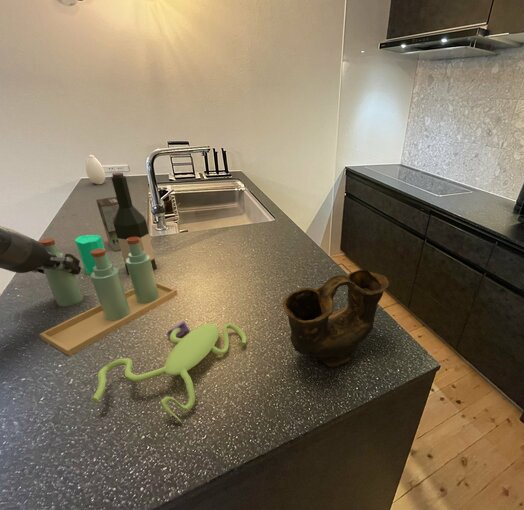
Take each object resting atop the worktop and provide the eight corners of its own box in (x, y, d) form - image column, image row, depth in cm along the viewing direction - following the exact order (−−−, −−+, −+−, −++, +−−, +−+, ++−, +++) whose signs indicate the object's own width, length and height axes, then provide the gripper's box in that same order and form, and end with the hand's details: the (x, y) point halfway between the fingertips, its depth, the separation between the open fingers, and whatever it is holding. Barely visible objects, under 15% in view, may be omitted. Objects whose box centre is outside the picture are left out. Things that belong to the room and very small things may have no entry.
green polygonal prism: (81, 271, 92) (67, 235, 86) (100, 263, 97) (89, 228, 92) (96, 276, 91) (83, 239, 85) (115, 266, 96) (104, 231, 90)
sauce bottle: (107, 185, 169) (97, 151, 161) (89, 186, 165) (79, 151, 157) (108, 181, 175) (99, 149, 167) (91, 182, 171) (81, 149, 163)
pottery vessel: (360, 319, 82) (369, 253, 73) (388, 343, 74) (402, 274, 65) (275, 356, 68) (272, 281, 59) (299, 391, 60) (301, 311, 51)
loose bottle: (62, 310, 76) (36, 247, 68) (54, 302, 79) (28, 240, 71) (87, 301, 80) (65, 240, 72) (79, 293, 83) (56, 234, 75)
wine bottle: (147, 261, 100) (125, 168, 86) (163, 269, 97) (142, 174, 83) (120, 271, 94) (91, 173, 80) (135, 280, 90) (108, 179, 76)
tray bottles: (113, 323, 73) (92, 258, 65) (100, 316, 75) (77, 252, 67) (163, 296, 84) (150, 237, 76) (150, 290, 85) (135, 232, 77)
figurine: (83, 407, 54) (72, 386, 52) (189, 318, 77) (186, 300, 75) (169, 442, 50) (162, 420, 47) (254, 336, 73) (253, 318, 70)
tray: (70, 357, 63) (67, 350, 63) (42, 340, 67) (39, 333, 66) (177, 295, 85) (176, 289, 84) (152, 285, 89) (151, 279, 88)
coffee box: (135, 246, 108) (124, 203, 101) (113, 251, 104) (100, 206, 97) (128, 238, 114) (117, 196, 107) (107, 242, 110) (94, 199, 103)
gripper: (54, 232, 64) (99, 256, 80) (-29, 232, 61) (35, 257, 77) (46, 267, 62) (94, 284, 78) (-40, 268, 59) (28, 286, 75)
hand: (64, 271), depth 77 cm, fingers closed on loose bottle, 5 cm apart
